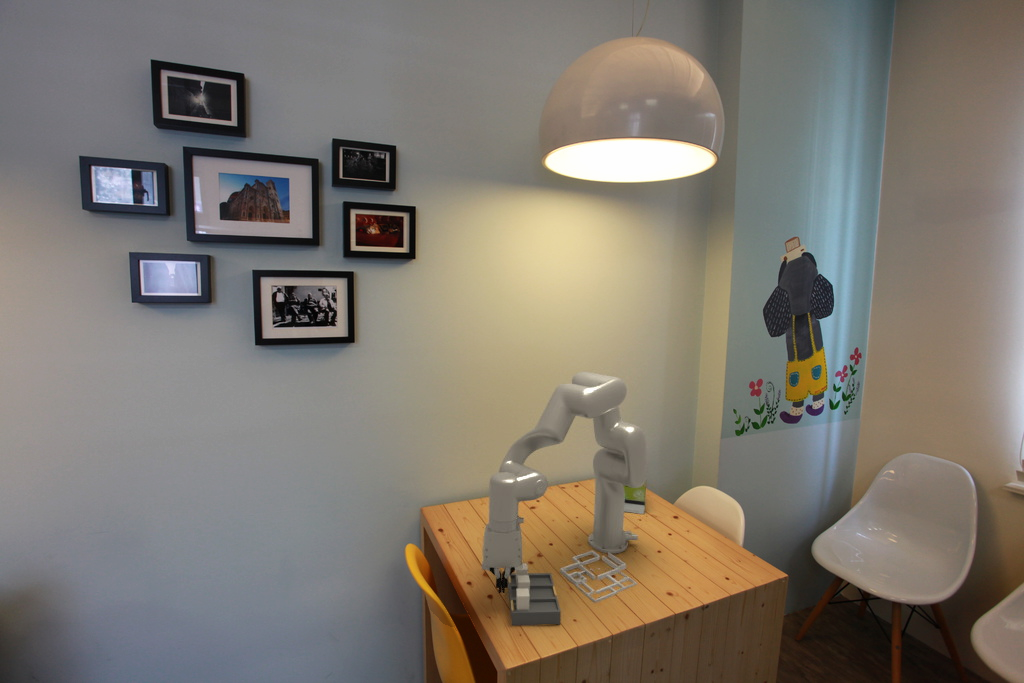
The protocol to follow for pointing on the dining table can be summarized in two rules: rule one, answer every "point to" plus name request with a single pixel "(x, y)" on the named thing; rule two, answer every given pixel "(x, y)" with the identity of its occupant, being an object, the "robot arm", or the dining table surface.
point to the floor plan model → (608, 574)
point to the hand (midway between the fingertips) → (501, 590)
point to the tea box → (635, 499)
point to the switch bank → (535, 601)
